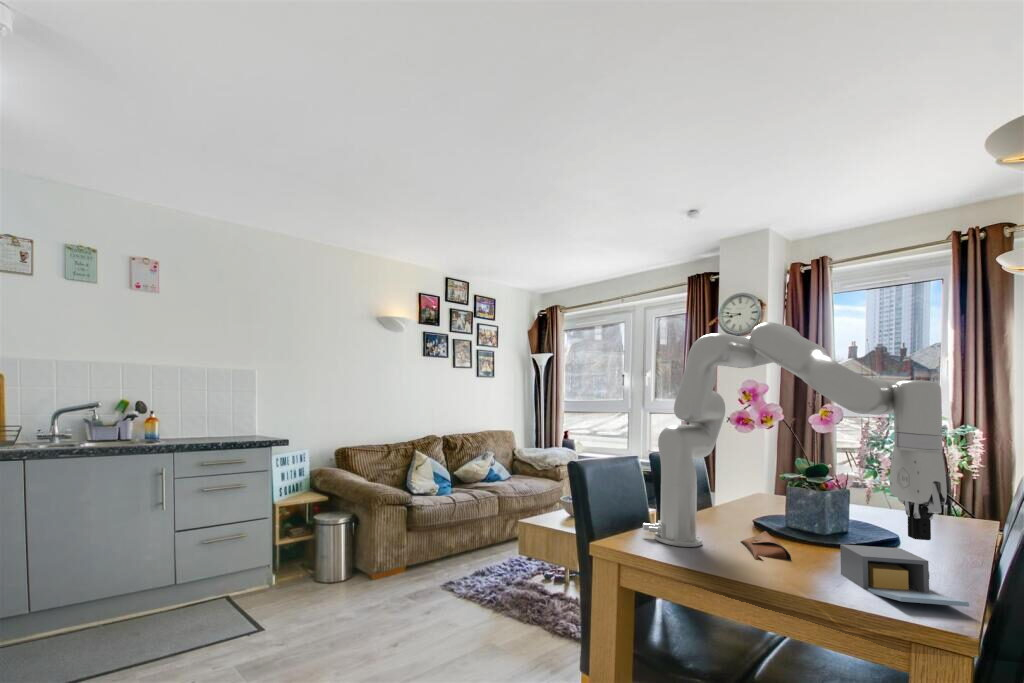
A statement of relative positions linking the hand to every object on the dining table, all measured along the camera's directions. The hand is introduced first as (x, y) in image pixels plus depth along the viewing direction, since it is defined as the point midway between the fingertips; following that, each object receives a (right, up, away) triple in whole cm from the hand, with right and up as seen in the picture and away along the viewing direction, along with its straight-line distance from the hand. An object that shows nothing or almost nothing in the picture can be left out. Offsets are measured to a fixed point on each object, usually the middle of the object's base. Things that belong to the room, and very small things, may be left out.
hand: (919, 538), depth 102 cm
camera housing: (+2, -15, +13) cm, 20 cm away
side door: (+1, -14, +7) cm, 16 cm away
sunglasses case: (-13, -18, +36) cm, 42 cm away
